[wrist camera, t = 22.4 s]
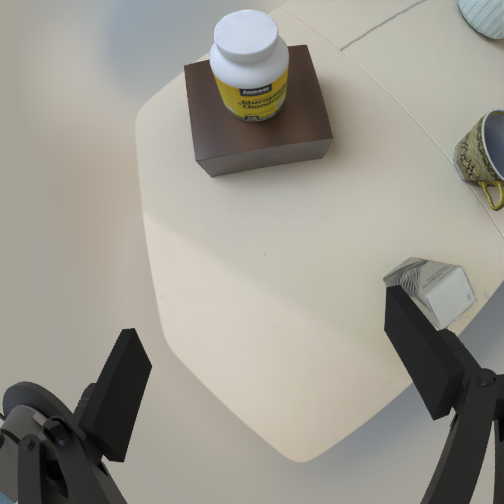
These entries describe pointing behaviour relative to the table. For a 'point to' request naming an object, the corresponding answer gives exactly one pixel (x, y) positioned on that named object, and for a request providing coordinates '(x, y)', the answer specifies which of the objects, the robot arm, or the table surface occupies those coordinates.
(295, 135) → the wooden block
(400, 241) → the table surface
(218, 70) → the pill bottle
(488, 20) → the vase
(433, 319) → the box
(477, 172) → the ceramic cup
